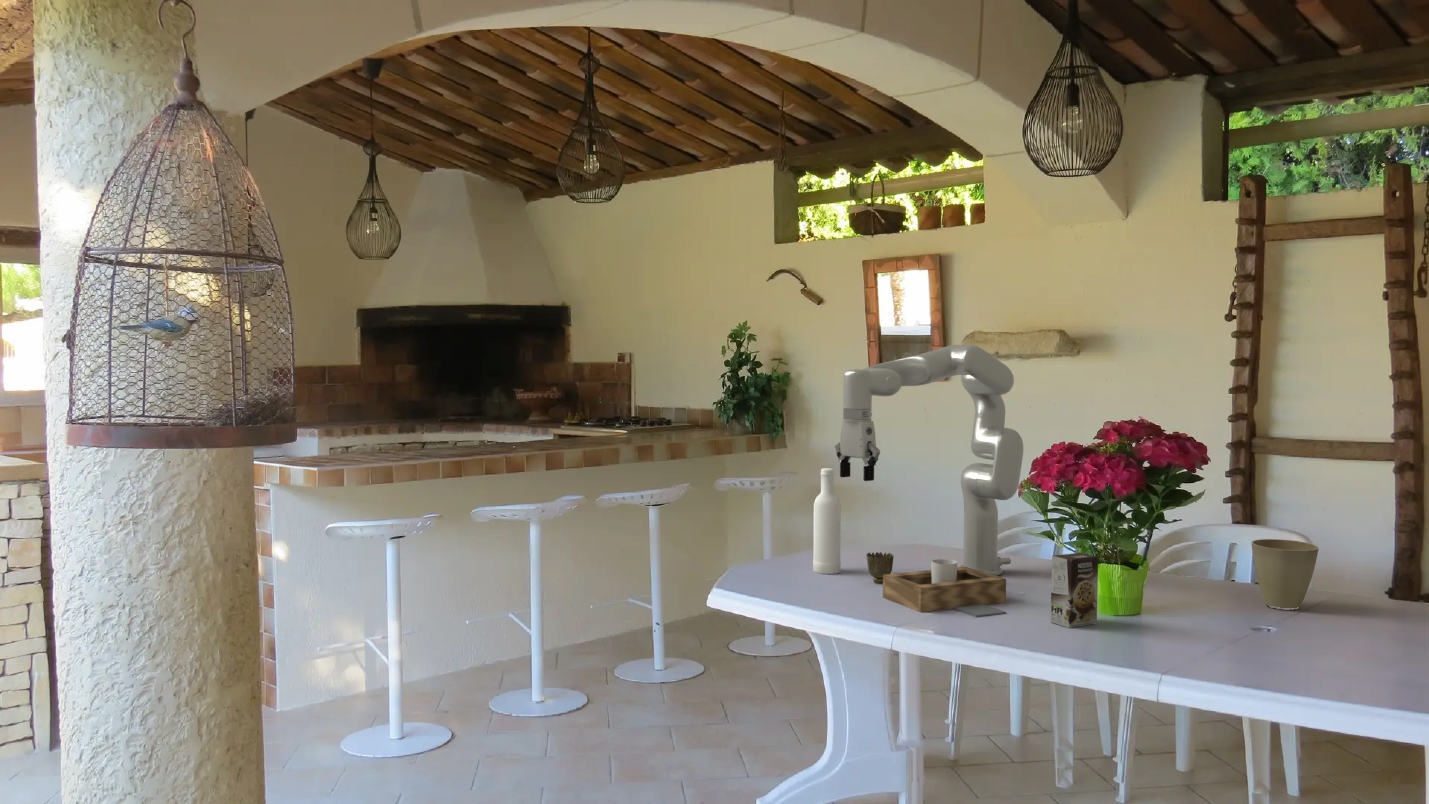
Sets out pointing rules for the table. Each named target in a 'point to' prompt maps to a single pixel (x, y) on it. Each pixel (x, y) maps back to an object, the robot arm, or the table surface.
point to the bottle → (827, 527)
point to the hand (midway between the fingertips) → (856, 478)
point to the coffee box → (1074, 589)
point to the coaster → (979, 610)
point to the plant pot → (1284, 570)
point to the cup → (879, 565)
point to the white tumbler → (943, 570)
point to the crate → (943, 590)
